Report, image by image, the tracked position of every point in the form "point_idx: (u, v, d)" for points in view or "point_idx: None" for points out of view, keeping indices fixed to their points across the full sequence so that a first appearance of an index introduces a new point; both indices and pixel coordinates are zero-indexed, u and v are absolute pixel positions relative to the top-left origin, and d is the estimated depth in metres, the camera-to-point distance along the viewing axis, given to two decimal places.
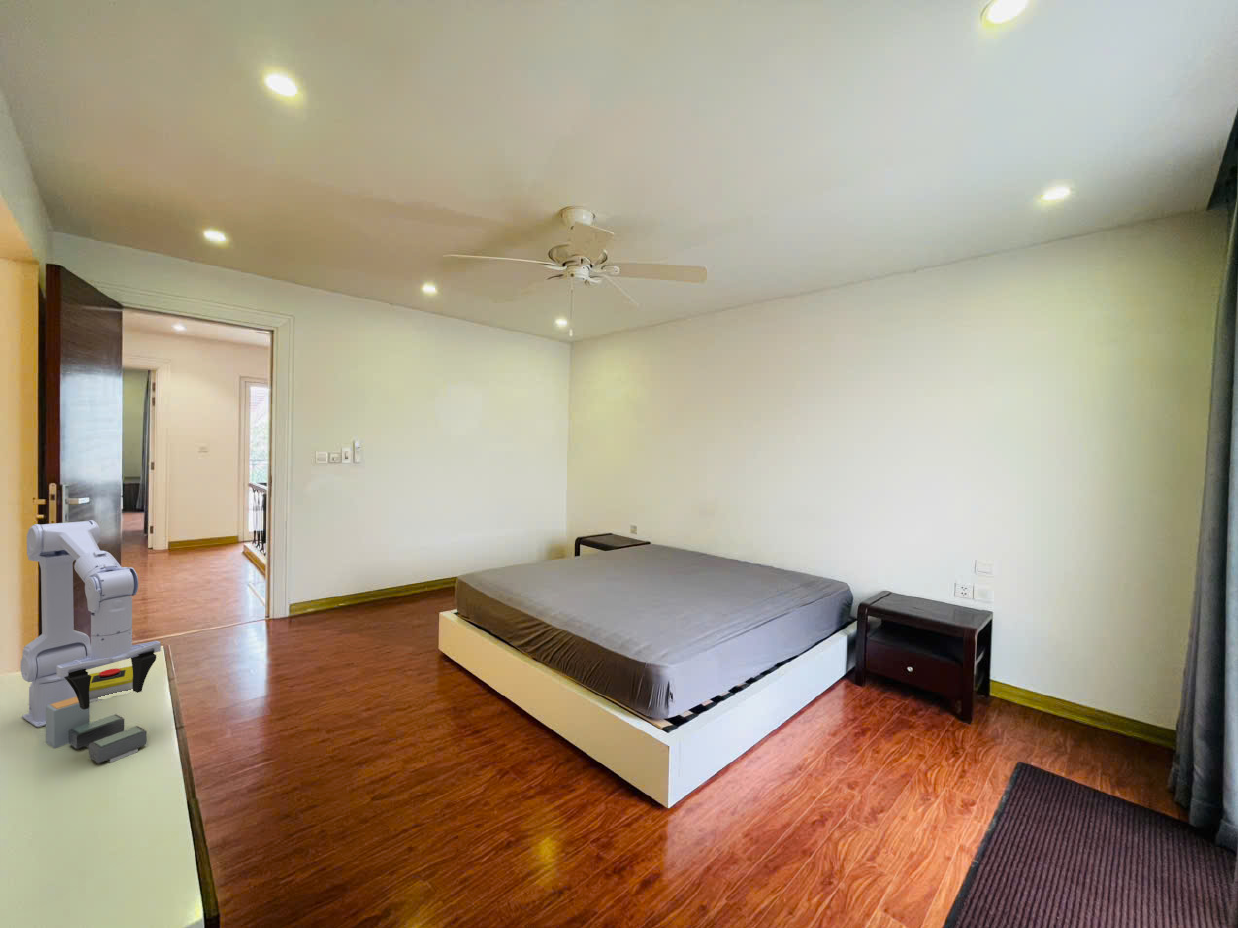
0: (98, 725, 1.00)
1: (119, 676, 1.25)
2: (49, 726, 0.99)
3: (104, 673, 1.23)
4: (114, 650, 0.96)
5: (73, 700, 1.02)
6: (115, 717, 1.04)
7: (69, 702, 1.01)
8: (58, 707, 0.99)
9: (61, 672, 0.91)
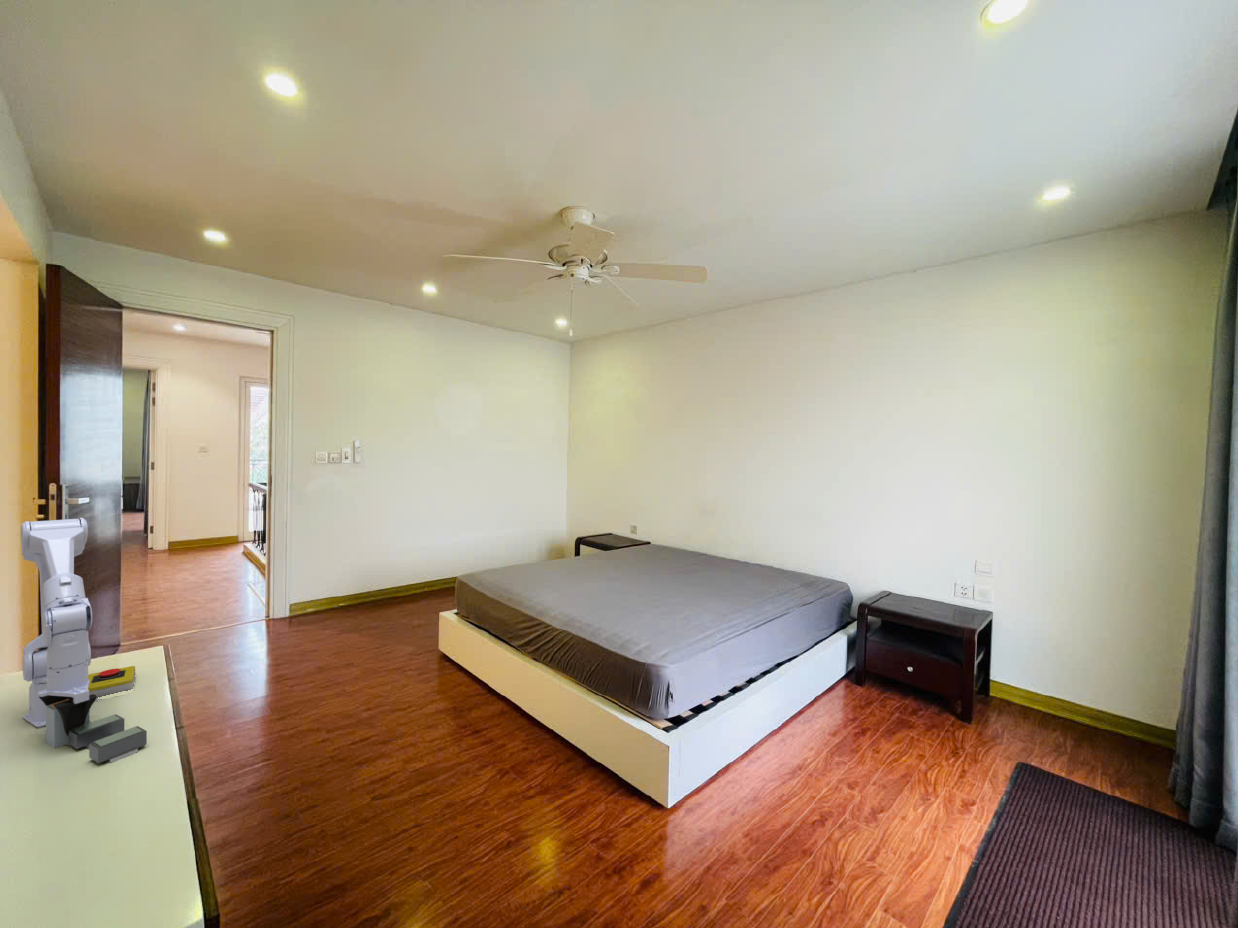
0: (98, 725, 1.00)
1: (119, 676, 1.24)
2: (49, 726, 0.99)
3: (104, 673, 1.23)
4: (46, 683, 0.99)
5: None
6: (115, 717, 1.04)
7: None
8: None
9: None
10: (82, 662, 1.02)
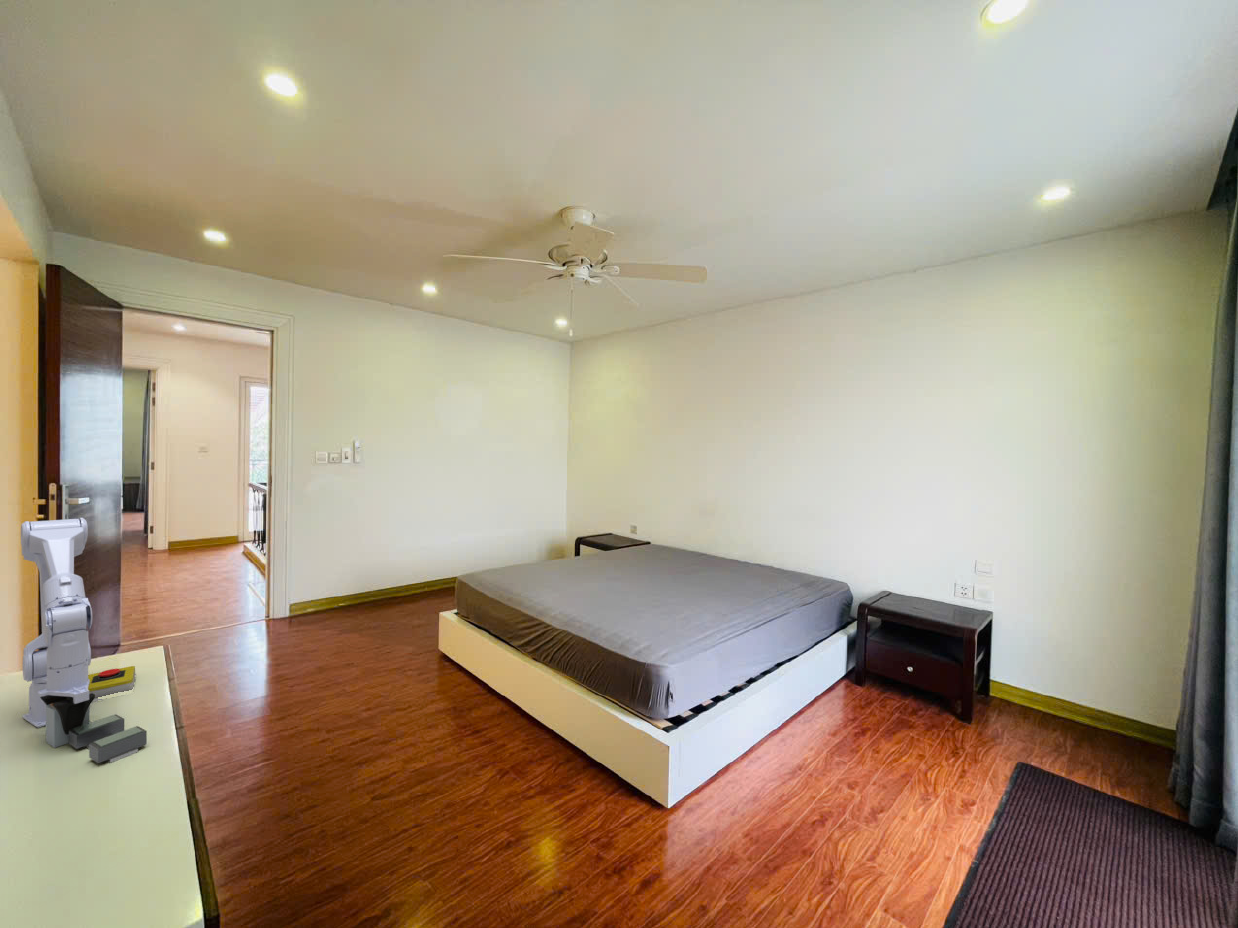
0: (98, 725, 1.00)
1: (119, 676, 1.24)
2: (49, 726, 0.99)
3: (104, 673, 1.23)
4: (46, 683, 0.99)
5: None
6: (115, 717, 1.04)
7: None
8: None
9: None
10: (82, 662, 1.02)
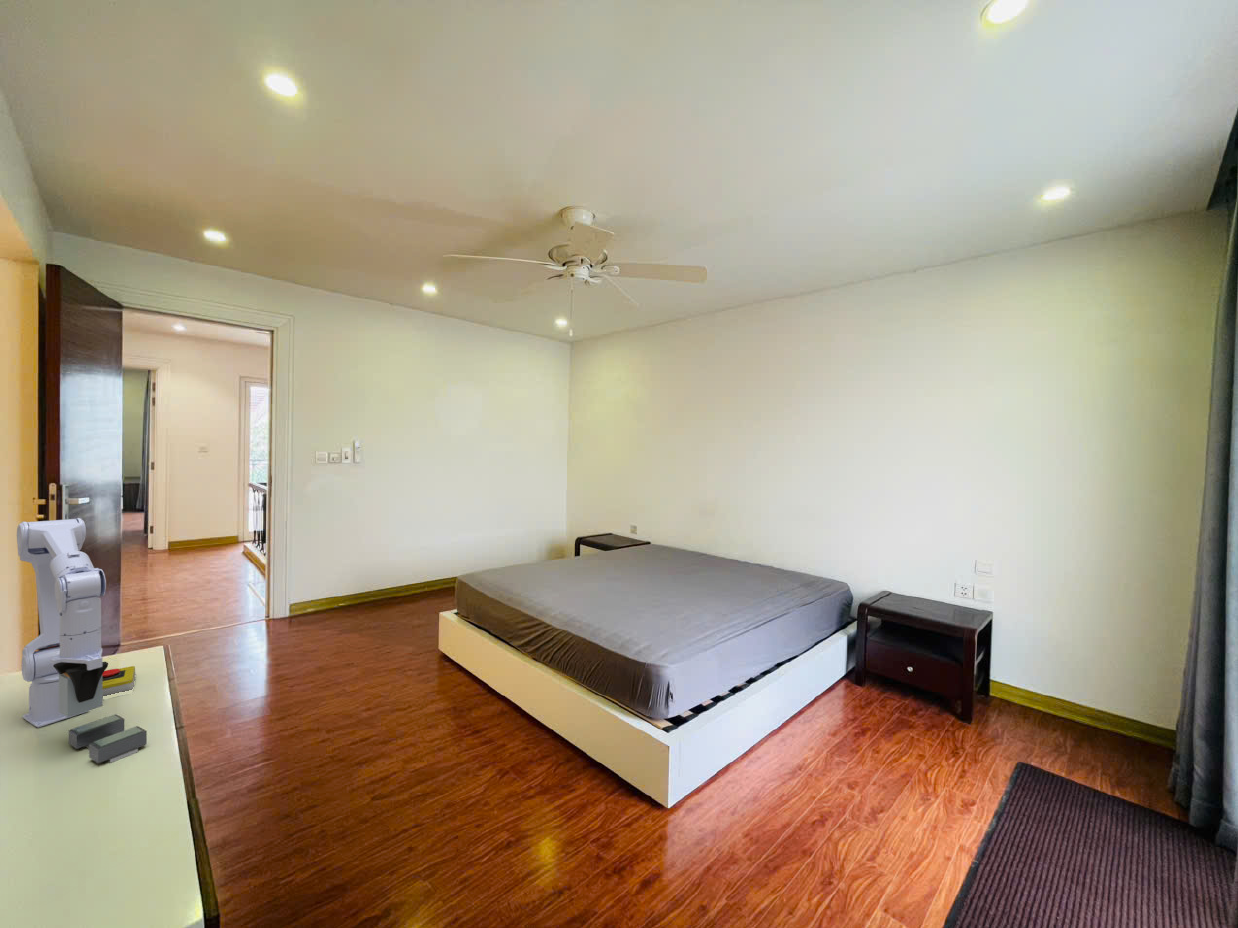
0: (98, 725, 1.00)
1: (119, 676, 1.24)
2: (62, 695, 0.98)
3: (104, 673, 1.23)
4: (59, 650, 0.98)
5: None
6: (115, 717, 1.04)
7: None
8: None
9: None
10: (95, 630, 1.01)
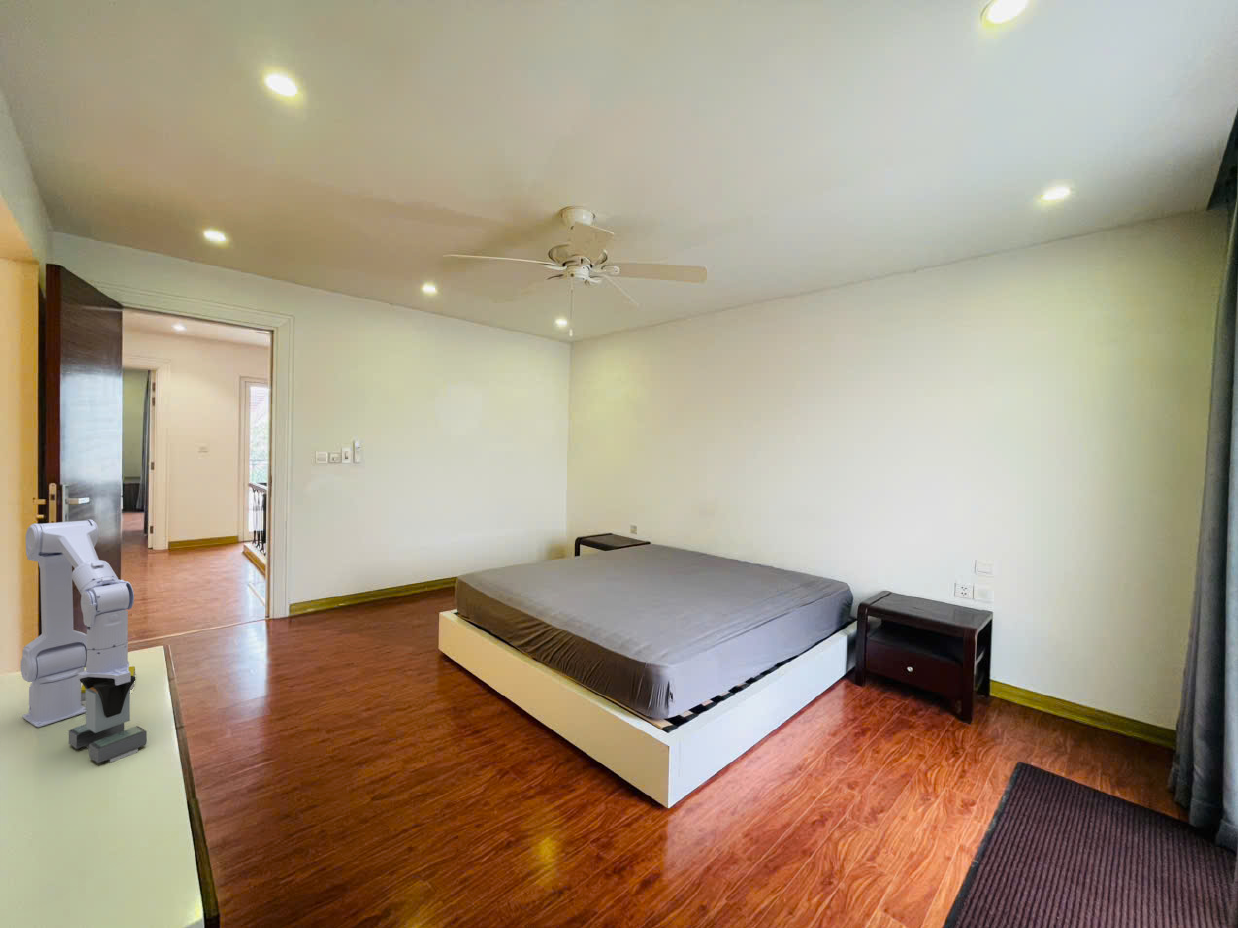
0: None
1: None
2: (90, 710, 0.97)
3: None
4: (87, 664, 0.97)
5: None
6: None
7: None
8: None
9: (85, 666, 1.01)
10: (122, 643, 0.99)
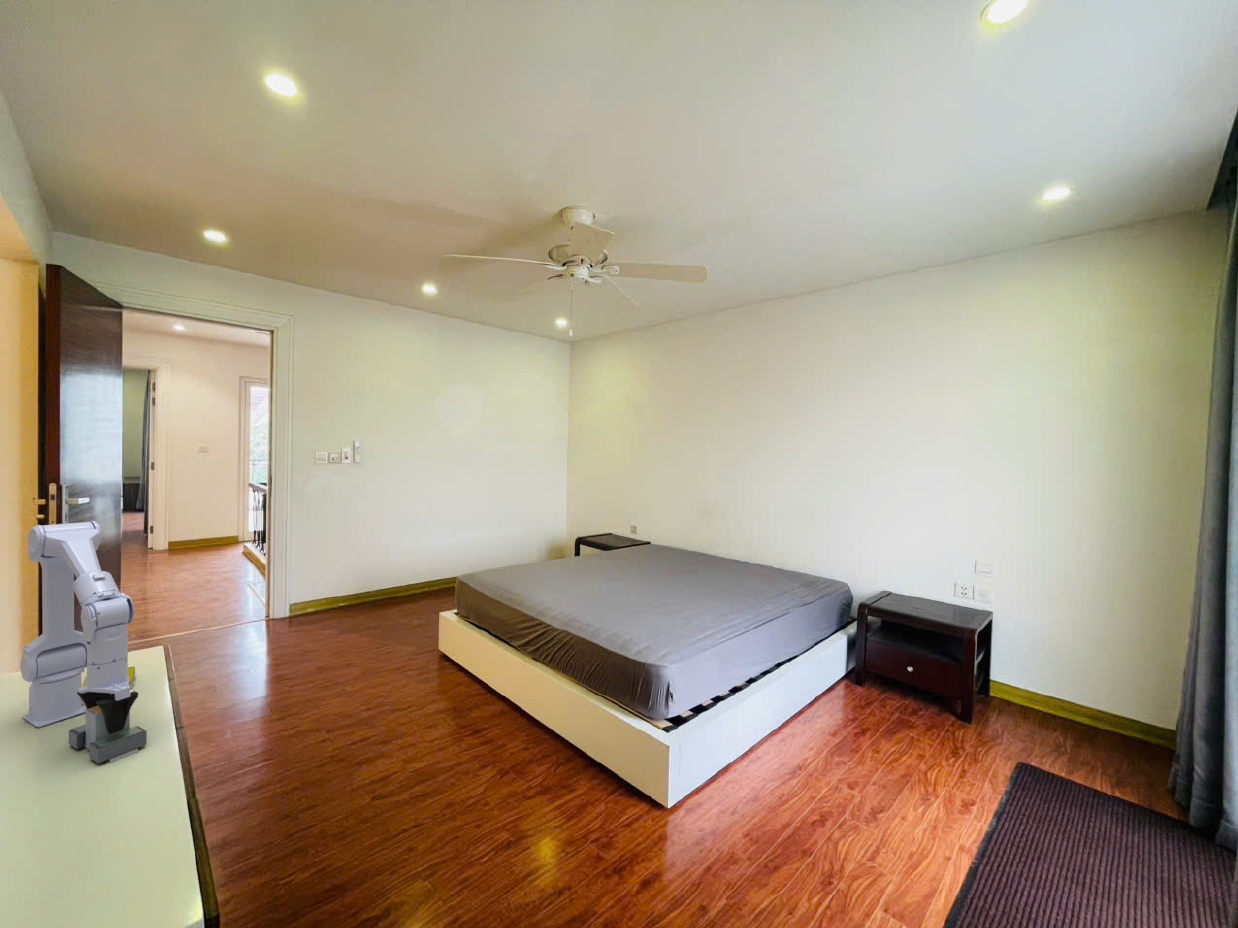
0: None
1: None
2: (90, 731, 0.97)
3: None
4: (86, 679, 0.97)
5: None
6: None
7: None
8: (99, 711, 0.97)
9: None
10: (122, 658, 0.99)
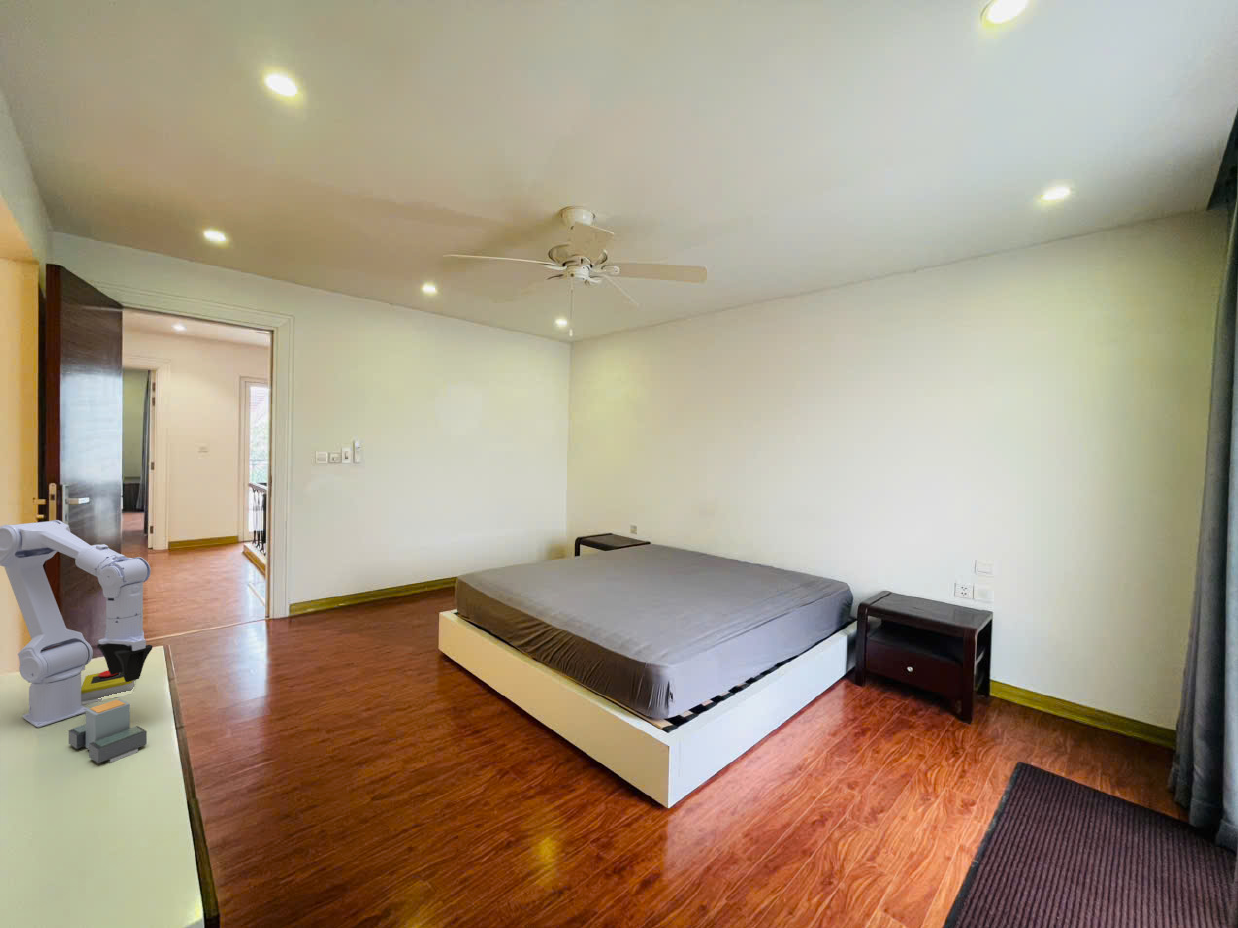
0: None
1: (119, 677, 1.24)
2: (90, 731, 0.97)
3: (103, 674, 1.23)
4: (106, 632, 1.06)
5: (113, 704, 1.00)
6: None
7: (109, 706, 0.99)
8: (99, 711, 0.97)
9: None
10: (138, 614, 1.08)
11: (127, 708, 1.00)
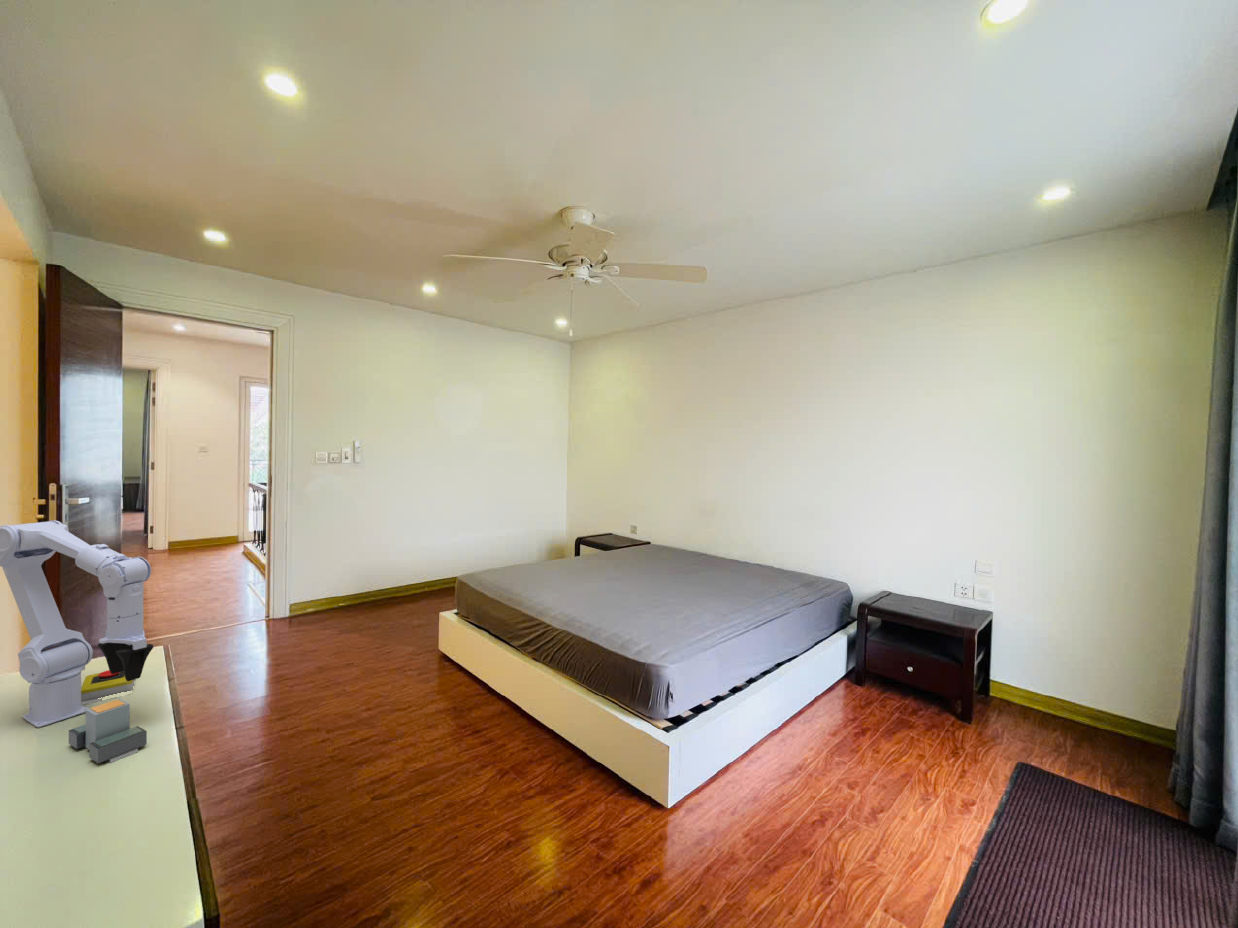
0: None
1: (119, 677, 1.24)
2: (90, 731, 0.97)
3: (103, 674, 1.23)
4: (107, 631, 1.06)
5: (113, 704, 1.00)
6: None
7: (109, 706, 0.99)
8: (99, 711, 0.97)
9: (105, 634, 1.11)
10: (139, 613, 1.09)
11: (127, 708, 1.00)
